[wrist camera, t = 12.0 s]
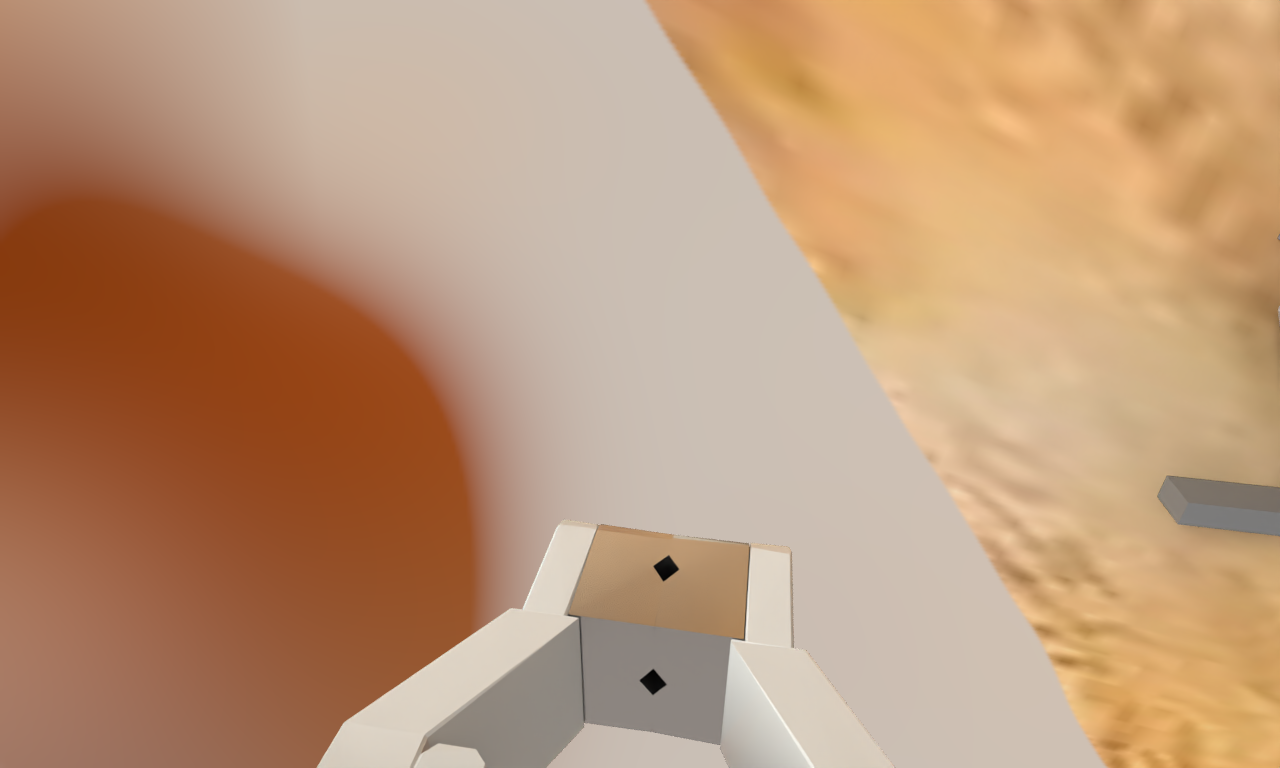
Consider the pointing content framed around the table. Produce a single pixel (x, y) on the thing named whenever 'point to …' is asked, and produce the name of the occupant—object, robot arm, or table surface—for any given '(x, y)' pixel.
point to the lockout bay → (1222, 504)
